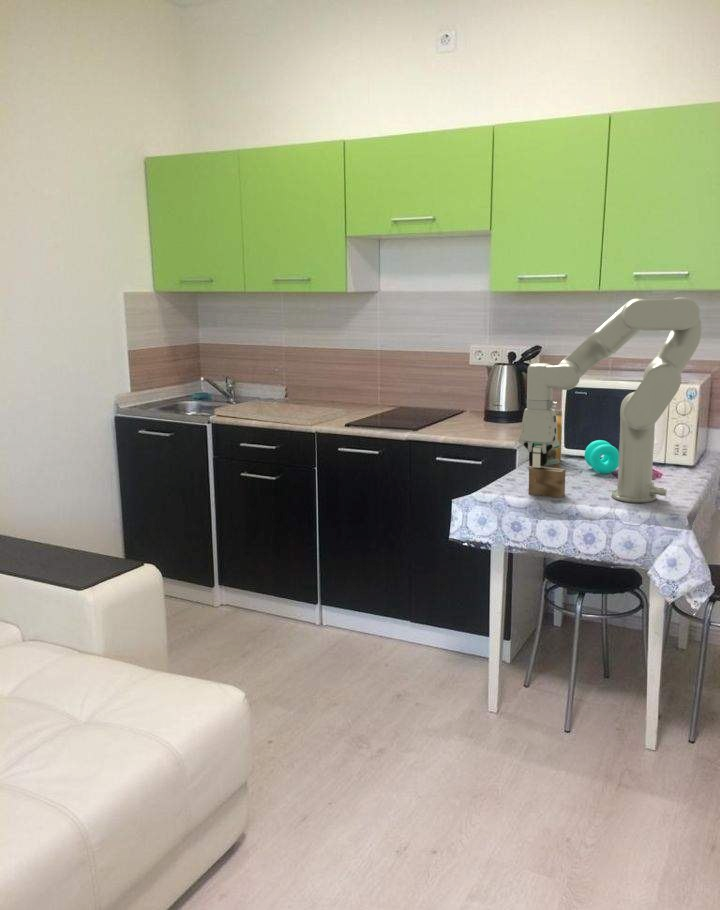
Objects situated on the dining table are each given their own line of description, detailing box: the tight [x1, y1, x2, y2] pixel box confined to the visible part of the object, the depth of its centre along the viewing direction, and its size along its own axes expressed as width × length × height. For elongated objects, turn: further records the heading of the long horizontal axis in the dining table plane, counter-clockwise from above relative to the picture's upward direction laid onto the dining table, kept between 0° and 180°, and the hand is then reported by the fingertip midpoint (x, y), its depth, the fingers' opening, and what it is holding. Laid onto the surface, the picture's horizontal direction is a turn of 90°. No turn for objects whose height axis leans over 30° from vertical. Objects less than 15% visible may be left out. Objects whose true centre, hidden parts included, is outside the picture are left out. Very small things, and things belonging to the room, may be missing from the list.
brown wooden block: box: [528, 466, 566, 499], centre depth 242 cm, size 10×4×8 cm, turn 58°
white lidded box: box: [531, 446, 543, 468], centre depth 241 cm, size 2×3×6 cm
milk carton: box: [528, 409, 563, 467], centre depth 281 cm, size 11×11×19 cm
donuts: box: [584, 439, 619, 475], centre depth 268 cm, size 10×10×10 cm
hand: (538, 464), depth 242 cm, fingers closed on white lidded box, 2 cm apart
